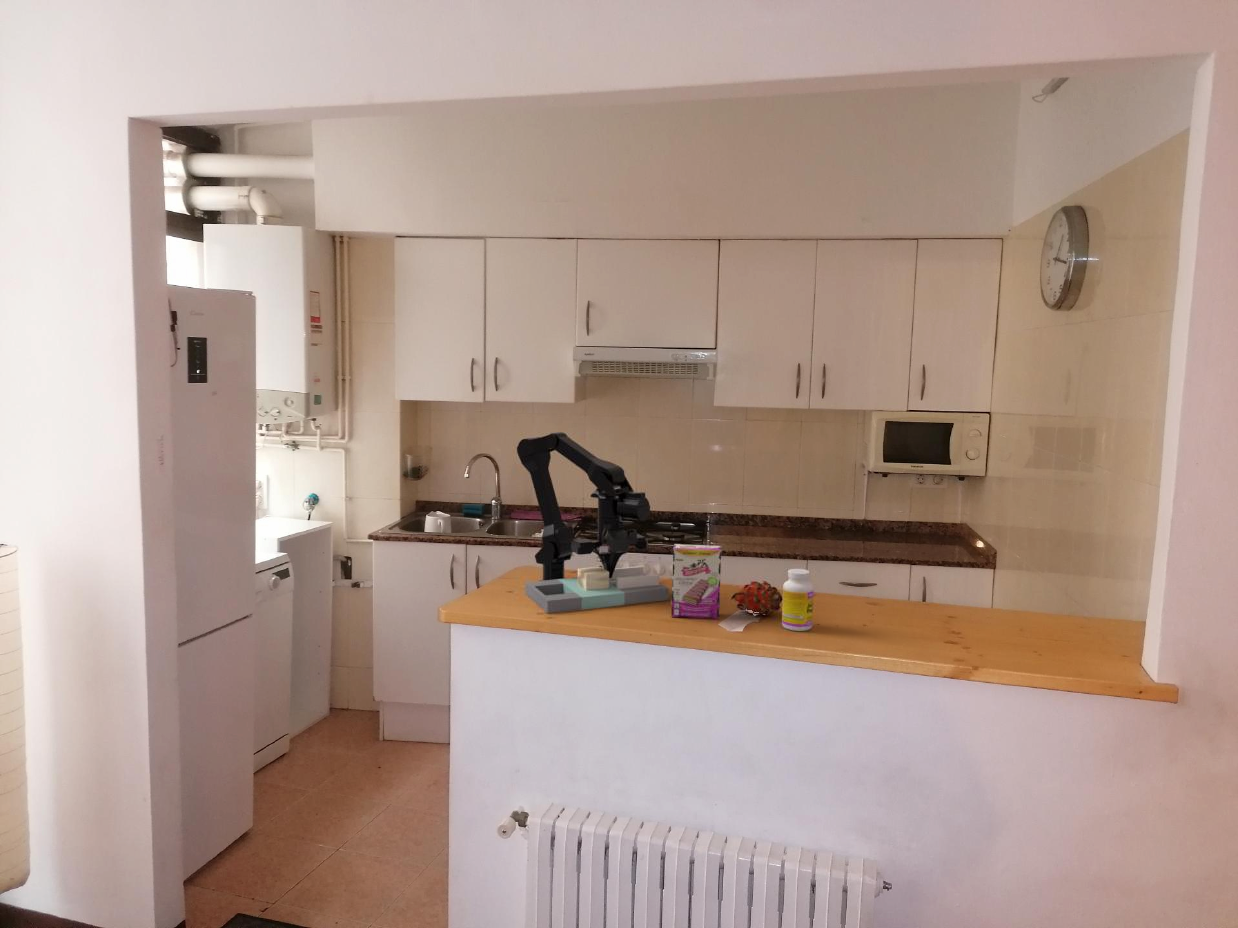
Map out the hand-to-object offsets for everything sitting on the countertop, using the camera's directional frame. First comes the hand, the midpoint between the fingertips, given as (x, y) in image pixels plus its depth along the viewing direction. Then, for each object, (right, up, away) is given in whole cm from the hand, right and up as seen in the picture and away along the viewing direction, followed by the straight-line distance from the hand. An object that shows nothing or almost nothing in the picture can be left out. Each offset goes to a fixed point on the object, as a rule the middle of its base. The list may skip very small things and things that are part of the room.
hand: (609, 577), depth 217 cm
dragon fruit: (+35, -7, -14) cm, 38 cm away
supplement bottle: (+42, -8, -24) cm, 49 cm away
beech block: (-4, -2, -2) cm, 5 cm away
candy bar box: (+20, -7, -16) cm, 26 cm away
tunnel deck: (-3, -5, -1) cm, 6 cm away
